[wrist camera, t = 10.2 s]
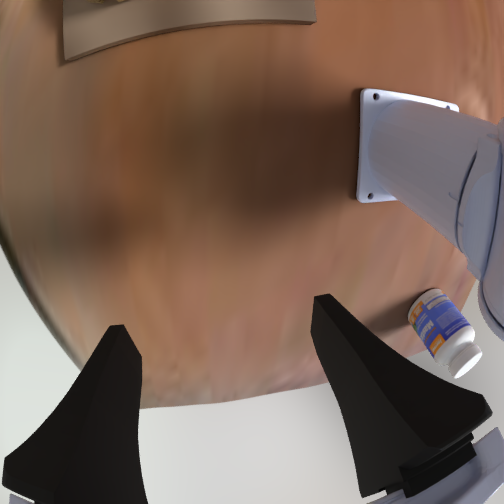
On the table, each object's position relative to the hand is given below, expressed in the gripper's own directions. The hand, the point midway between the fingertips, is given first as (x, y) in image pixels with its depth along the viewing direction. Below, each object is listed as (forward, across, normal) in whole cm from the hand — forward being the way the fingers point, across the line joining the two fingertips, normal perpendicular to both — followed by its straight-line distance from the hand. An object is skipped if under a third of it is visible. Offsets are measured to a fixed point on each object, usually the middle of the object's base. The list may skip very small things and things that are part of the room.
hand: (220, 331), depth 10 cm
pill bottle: (+10, -22, +14) cm, 28 cm away
